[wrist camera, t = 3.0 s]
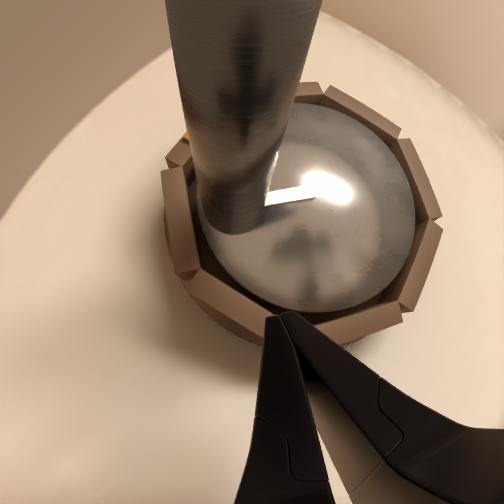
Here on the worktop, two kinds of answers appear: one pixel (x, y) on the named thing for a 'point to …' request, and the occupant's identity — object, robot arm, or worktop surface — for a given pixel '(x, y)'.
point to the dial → (283, 162)
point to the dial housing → (254, 312)
